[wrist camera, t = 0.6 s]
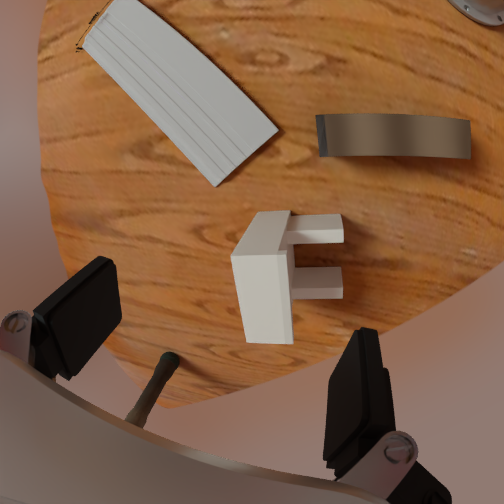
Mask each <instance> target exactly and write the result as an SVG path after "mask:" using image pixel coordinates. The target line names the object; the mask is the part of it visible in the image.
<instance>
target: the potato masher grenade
mask: <svg viewBox="0 0 504 504" xmlns="http://www.w3.org/2000/svg"><path fill="white" fill-rule="evenodd" d="M178 366H179V358H178V356H177V355H176V354H174V353H172V352H166V353H164V354H163V355H162V356H161V358H160V361H159V363H158V364H157V366H156V368H155V371H154V374H153V376H152V378H151V380H150V381H149V383H148V385H147V386H146V388H145V390H144V391H143V393H142V395H141V396H140V398H139V400H138V401H137V403H136V405H135V406H134V408H133V409H132V410H131V411H130V412H129V413H128V415H127V417H126V418H125V420H124V421H127V422H129V423H131V424H133V425H135V426H137V427H140V428H142V429H143V427H144V425H145V423H146V420H147V416H148V414H149V413H150V411H151V409H152V407H153V406H154V404H155V402H156V400H157V398H158V396H159V395H160V393H161V391H162V389H163V387H164V386H165V384H166V382H167V381H168V380H169V379H170V378H171V376H172V375H173V373H174V371H175V370H176V369H177V368H178Z"/></svg>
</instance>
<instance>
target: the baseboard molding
mask: <svg viewBox="0 0 504 504" xmlns="http://www.w3.org/2000/svg"><path fill="white" fill-rule="evenodd" d="M108 3H109V2H108ZM108 3H107V4H108ZM107 4H106V5H107ZM103 9H104V8H103ZM103 9H102V10H103ZM98 13H99V12H97V14H98ZM99 14H100V13H99ZM99 14H98V15H99ZM96 16H97V15H96V14H95V15H94V16H93V18H92V20H91V21H90V23H91V22H92V21H93V19H94V18H95V17H96ZM95 19H96V18H95ZM95 19H94V20H95ZM90 23H89V24H90ZM92 23H93V22H92ZM92 23H91V24H92ZM89 27H90V26H89ZM89 27H88V28H89ZM86 31H87V30H86ZM84 34H85V33H84ZM84 34H83V35H84ZM82 37H83V36H82ZM82 37H81V38H82ZM79 41H80V40H79ZM77 45H78V43H77V44H76V46H77ZM82 48H84V49H85V50H86V51H87V52H88V53H89V54H90V55H91V56H92V57H93V58H94V59H95V60H96V61H97V63H98V64H99V65H100V66H101V67H102V68H103V69H104V70H105V71H106V72H107V73H108V74H109V75H110V76H111V77H112V78H113V79H114V80H115V81H116V82H117V83H118V84H119V85H120V86H121V87H122V89H123V90H124V91H125V92H126V93H127V94H128V95H129V96H130V97H131V98H132V99H133V100H134V101H135V102H136V103H137V104H138V105H139V106H140V107H141V108H142V110H143V111H144V112H145V113H146V114H147V115H148V116H149V117H150V118H151V119H152V120H153V121H154V122H155V123H156V124H157V125H158V127H159V128H160V129H161V130H162V131H163V132H164V133H165V134H166V135H167V136H168V137H169V138H170V139H171V140H172V141H173V143H174V144H175V145H176V146H177V147H178V148H179V149H180V150H181V151H182V152H183V153H184V154H185V155H186V157H187V158H188V159H189V160H190V161H191V162H192V163H193V164H194V165H195V166H196V167H197V168H198V170H199V171H200V172H201V173H202V174H203V175H204V176H205V177H206V178H207V179H208V180H209V181H210V183H211V184H212V185H213V186H214V187H216V186H217V185H218V184H219V183H220V182H221V181H222V180H223V179H225V178H226V177H227V176H228V175H229V174H230V173H231V172H232V171H233V170H234V169H236V168H237V167H238V166H239V165H240V164H241V163H242V162H243V161H244V160H246V159H247V158H248V157H249V156H250V155H251V154H252V153H253V152H255V151H256V150H257V149H258V148H259V147H260V146H261V145H263V144H264V143H265V142H266V141H267V140H268V139H270V138H271V137H272V136H273V135H274V134H275V133H277V132H278V131H279V129H278V128H277V127H276V126H275V125H274V124H273V123H272V122H271V121H270V120H269V119H268V118H267V116H266V115H265V114H264V113H263V112H262V111H261V110H260V109H259V108H258V107H257V106H256V105H255V104H254V103H253V102H252V101H251V100H250V99H249V98H248V97H247V96H246V95H245V94H244V93H243V92H242V91H241V90H240V89H239V88H238V87H237V86H236V85H235V84H234V83H233V82H232V81H231V80H230V79H229V78H228V77H227V76H226V75H225V74H224V73H223V72H222V71H221V70H220V69H219V68H218V67H217V66H215V65H214V64H213V63H212V62H211V61H210V60H209V59H208V58H207V57H206V56H205V55H204V54H202V53H201V52H200V51H199V50H198V49H197V48H196V47H195V46H193V45H192V44H191V43H190V42H189V41H188V40H186V39H185V38H184V37H183V36H182V35H181V34H179V33H178V32H177V31H176V30H175V29H173V28H172V27H171V26H170V25H169V24H167V23H166V22H165V21H164V20H162V19H161V18H160V17H159V16H157V15H156V14H155V13H153V12H152V11H151V10H150V9H148V8H147V7H146V6H144V5H143V4H142V3H140V2H139V1H138V0H114V1H113V2H112V4H111V5H110V6H109V7H108V8H107V10H106V11H105V13H104V14H103V15H102V16H101V17H100V18H99V20H98V21H97V23H96V24H95V25H94V26H93V27H92V29H91V31H90V32H89V33H88V34H87V36H86V37H85V42H84V44H83V45H82ZM82 48H79V47H77V49H80V50H82ZM76 52H77V51H76Z"/></svg>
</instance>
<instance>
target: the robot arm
mask: <svg viewBox="0 0 504 504" xmlns="http://www.w3.org/2000/svg"><path fill="white" fill-rule="evenodd" d="M448 1H449V2H450V3H451V4H452V5H453V6H454V7H455V8H457V9H458V10H459V11H460V12H461V13H463V14H464V15H466V16H467V17H469V18H470V19H472V20H474V21H476V22H478V23H481V24H483V25H488V26H498V25H501V24H503V23H504V0H448ZM33 312H34V316H33V317H31V315H30V314H29V313H28V312H26V311H23V310H17V311H13V312H11V313H9V314H8V315H7V316H5V318H4V319H3V320H2V323H1V326H0V504H452V498H451V494H450V492H449V491H448V489H447V488H446V487H445V486H444V485H443V484H441V483H440V482H439V481H438V480H437V479H436V478H435V477H434V476H432V474H430V473H429V472H428V471H427V470H426V469H425V468H424V467H423V466H422V465H421V464H420V463H418V462H417V461H416V459H417V457H418V447H417V444H416V442H415V441H414V439H413V438H412V437H411V436H410V435H408V434H407V433H405V432H402V431H396V427H395V416H394V408H393V398H392V390H391V383H390V376H389V371H388V369H387V368H383V363H382V357H381V350H380V344H379V338H378V332H377V330H374V329H370V328H365V327H361V328H360V330H355V331H354V333H353V335H352V337H351V339H350V341H349V343H348V345H347V347H346V349H345V350H344V352H343V354H342V356H341V358H340V360H339V362H338V364H337V365H336V367H335V369H334V371H333V373H332V375H331V377H330V379H329V385H328V400H327V415H326V428H325V439H324V450H323V460H324V461H327V465H326V468H329V469H335V472H334V475H335V476H336V478H335V479H333V480H332V481H331V480H326V479H320V478H314V477H309V476H302V475H296V474H291V473H285V472H280V471H275V470H271V469H266V468H262V467H257V466H253V465H249V464H245V463H240V462H237V461H233V460H229V459H226V458H222V457H219V456H215V455H212V454H209V453H205V452H202V451H199V450H196V449H193V448H191V447H188V446H185V445H182V444H179V443H177V442H174V441H171V440H169V439H166V438H164V437H161V436H159V435H156V434H153V433H151V432H149V431H146V430H144V429H142V428H140V427H137V426H135V425H133V424H131V423H129V422H127V421H124V420H122V419H120V418H118V417H116V416H114V415H112V414H110V413H108V412H106V411H104V410H102V409H100V408H99V407H97V406H95V405H93V404H91V403H89V402H88V401H86V400H84V399H82V398H81V397H79V396H77V395H75V394H74V393H72V392H70V391H68V390H67V389H65V388H64V387H62V386H61V385H59V384H57V383H56V375H57V374H58V373H59V375H60V376H62V377H63V378H65V379H67V380H68V381H69V380H70V379H71V378H72V376H76V375H77V374H78V373H79V372H80V371H81V369H82V368H83V367H84V365H85V364H86V363H87V362H88V361H89V359H90V358H91V357H92V356H93V354H94V353H95V352H96V351H97V349H98V348H99V347H100V346H101V345H102V343H103V342H104V341H105V340H106V339H107V337H108V336H109V335H110V334H111V333H112V331H113V330H114V329H115V328H116V327H117V325H118V324H119V323H120V321H121V319H122V312H121V305H120V297H119V289H118V280H117V271H116V265H115V264H114V263H113V260H111V259H109V258H106V257H103V256H98V257H96V258H95V259H94V260H93V261H91V262H90V263H89V264H88V265H86V266H85V267H84V268H82V269H81V270H80V271H79V272H77V273H76V274H75V275H74V276H73V277H71V278H70V279H69V280H68V281H67V282H65V283H64V284H63V285H62V286H60V287H59V288H58V289H57V290H56V291H55V292H53V293H52V294H51V295H50V296H49V297H48V298H46V299H45V300H44V301H43V302H42V303H41V304H40V305H39V306H37V307H36V308H35V309H34V310H33Z"/></svg>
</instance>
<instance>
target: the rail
mask: <svg viewBox="0 0 504 504" xmlns="http://www.w3.org/2000/svg"><path fill="white" fill-rule="evenodd" d="M316 124H317V133H318V144H319V154H320V157H330V156H427V157H446V158H461V159H471V127H470V120H463V119H455V118H446V117H435V116H423V115H406V114H326V115H316Z"/></svg>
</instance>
